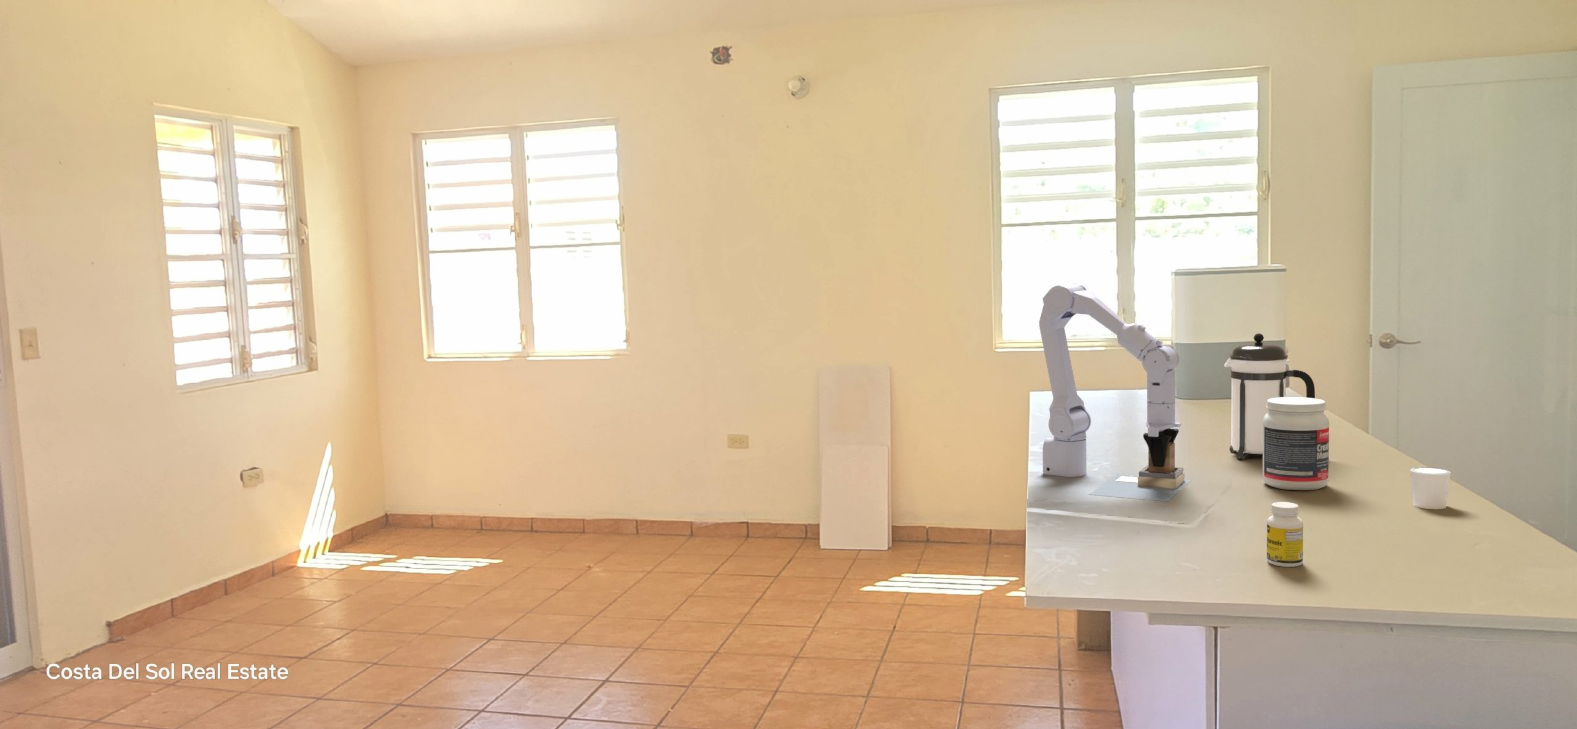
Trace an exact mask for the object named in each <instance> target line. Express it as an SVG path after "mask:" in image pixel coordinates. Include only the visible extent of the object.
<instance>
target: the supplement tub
mask: <svg viewBox="0 0 1577 729" xmlns="http://www.w3.org/2000/svg"><path fill="white" fill-rule="evenodd" d="M1266 408H1268V411H1269V412H1268V413H1267V414H1266V415H1265V416H1264V418H1263V454H1262V480H1263V482H1264V483H1265V484H1266V485H1268V486H1270V487H1273V488H1276V489H1279V490H1288V491H1289V490H1290V491H1314V490H1319V489H1322V488H1324V487H1326V486H1327V484H1329V473H1330V472H1329V467H1330V466H1329V465H1330V461H1329V460H1330V458H1329V457H1330V420H1329V418H1328V416H1327V415H1326V414H1325V410H1327V407H1326V401H1325V400H1324V399H1319V398H1315V399H1314V398H1306V397H1300V396H1299V397H1298V396H1297V397H1296V396H1295V397H1293V396H1286V397H1280V398H1271V399H1268V400H1267V406H1266Z"/></svg>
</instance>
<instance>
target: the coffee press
mask: <svg viewBox="0 0 1577 729" xmlns="http://www.w3.org/2000/svg"><path fill="white" fill-rule="evenodd" d="M1264 338H1265V337H1264V335H1263V334H1262V333H1260V332H1259V333H1255V334H1254V336H1253V340H1254V343H1253V342H1252V343H1244V344H1240V345H1237V346H1235V347H1233V349H1232V352H1231V353H1230V355H1229V357H1228V359H1227V360H1226V361H1225V363H1224V365H1223V366H1224V368H1231V369H1230V379H1231V411H1230V412H1231V414H1230V415H1231V416H1230V417H1231V418H1230V419H1231V421H1230V422H1231V425H1230V426H1231V430H1230V432H1231V435H1230V436H1231V439H1230V440H1231V442H1230V443H1231V445H1230V446H1229V452H1230V453H1237V454H1236V455H1235V456H1236V459H1237V460H1239V459H1240V461H1241V460H1242V461H1244V460H1245V459H1246V457H1247V456H1248V455H1253V454H1254V455H1255V454H1256V455H1263V418H1264V416H1265V415H1266V414H1267V413H1268V412H1269V411H1268V408H1266V406H1267V400H1268V399H1271V398H1280V397H1287V395H1286V392H1287V391H1286V388H1287V387H1286V385H1287V384H1286V383H1287V382H1286V380H1287V378H1288V377H1289V378H1290V377H1291V378H1299V379H1301V381H1303V382H1304V384H1305V389H1306V390H1305V391H1306V393H1305V394H1306V397H1305V398H1314V399H1316V395H1315V394H1316V392H1315V391H1316V390H1315V383H1314V381H1313V379H1312V377H1311V375H1310V374H1308V373H1307V372H1305V371H1303V370H1300V369H1293V370H1288V369H1287V360H1288V358H1289V354H1287V352H1286V351H1285V348H1283V347H1282V346H1280V345H1278V344H1274V343H1263V341H1264Z"/></svg>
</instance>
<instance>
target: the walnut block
mask: <svg viewBox="0 0 1577 729" xmlns="http://www.w3.org/2000/svg"><path fill="white" fill-rule="evenodd" d="M1147 450H1148V455H1147V456H1148V462H1147V465H1148V472H1158V473H1172V472H1173V471H1174V470H1175V467H1176V459H1175V458H1176V453H1175V451H1176V443H1175V442H1174V443H1170V442H1169V443H1168V447H1167V451H1166V458H1165V463H1164V466H1163V467H1156V466H1153V464H1152V460H1151V455H1150V451H1149V448H1148V449H1147Z"/></svg>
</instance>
